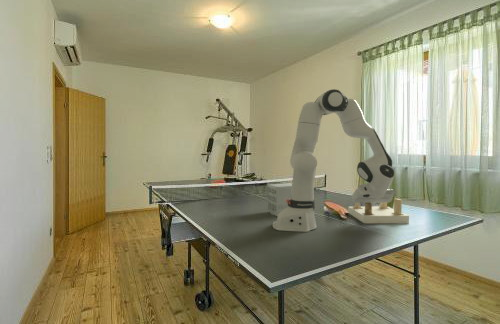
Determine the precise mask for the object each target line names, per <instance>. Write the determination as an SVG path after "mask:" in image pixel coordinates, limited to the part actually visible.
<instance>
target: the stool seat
mask: <svg viewBox="0 0 500 324" xmlns="http://www.w3.org/2000/svg"><path fill="white" fill-rule="evenodd" d="M402 202H403V200H402V199H401V198H395V199H394V204H393V209H392V208H390V207H387V203H382V204H380V205H379V206H375V205H374V206H373V205H372V215H365V205H364V206H362V205H361V206H358V203H354V202H353V203H354V206H348V211H349V213H348V214H349V215H351V216H352V217H354V218H356V219H357V220H358V221H360V222H361V223H363V224H409V223H410V215H408V214H406V213H403V212H402ZM348 211H347V212H348Z"/></svg>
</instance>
